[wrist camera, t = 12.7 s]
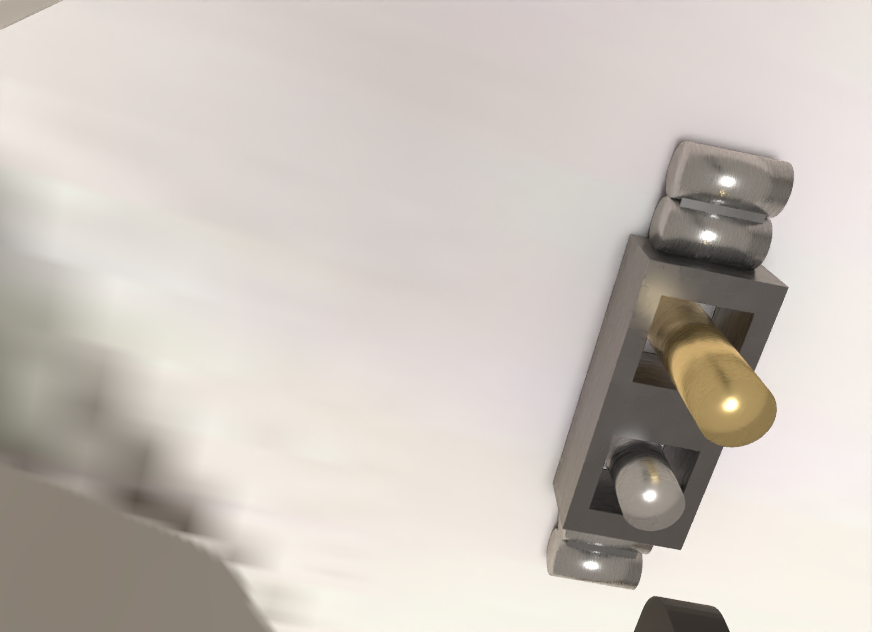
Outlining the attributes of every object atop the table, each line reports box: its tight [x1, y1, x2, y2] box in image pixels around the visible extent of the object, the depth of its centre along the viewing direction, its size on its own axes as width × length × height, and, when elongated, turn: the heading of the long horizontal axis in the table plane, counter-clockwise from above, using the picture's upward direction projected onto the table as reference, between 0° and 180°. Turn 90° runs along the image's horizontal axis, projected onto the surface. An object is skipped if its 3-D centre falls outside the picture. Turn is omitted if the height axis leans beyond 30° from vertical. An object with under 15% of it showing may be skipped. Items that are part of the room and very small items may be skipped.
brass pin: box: [647, 295, 777, 447], centre depth 33 cm, size 3×3×10 cm
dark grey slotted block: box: [547, 141, 794, 590], centre depth 36 cm, size 25×6×6 cm, turn 169°
